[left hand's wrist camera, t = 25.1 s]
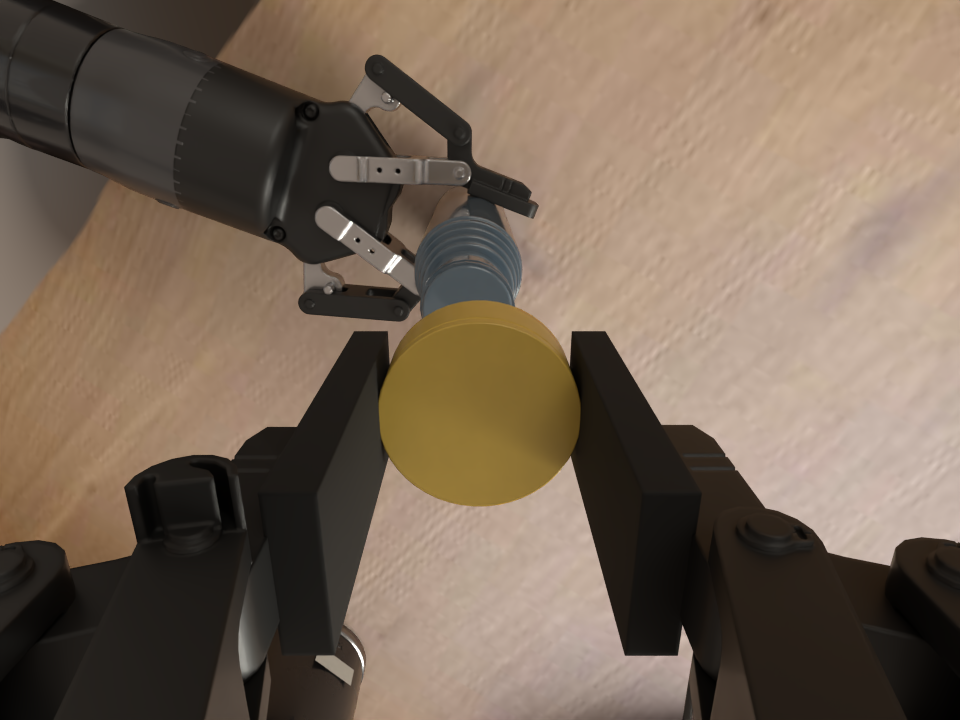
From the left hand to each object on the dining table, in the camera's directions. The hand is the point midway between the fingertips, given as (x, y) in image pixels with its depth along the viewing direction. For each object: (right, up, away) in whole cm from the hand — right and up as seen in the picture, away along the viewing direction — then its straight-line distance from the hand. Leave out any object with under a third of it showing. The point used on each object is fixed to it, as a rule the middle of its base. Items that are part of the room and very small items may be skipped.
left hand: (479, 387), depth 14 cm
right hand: (+2, +6, +19) cm, 20 cm away
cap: (0, -1, -1) cm, 1 cm away
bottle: (-1, +9, +25) cm, 27 cm away
